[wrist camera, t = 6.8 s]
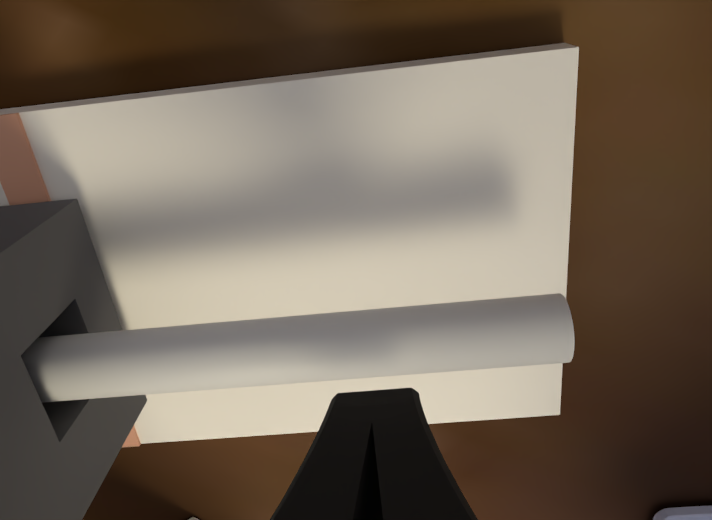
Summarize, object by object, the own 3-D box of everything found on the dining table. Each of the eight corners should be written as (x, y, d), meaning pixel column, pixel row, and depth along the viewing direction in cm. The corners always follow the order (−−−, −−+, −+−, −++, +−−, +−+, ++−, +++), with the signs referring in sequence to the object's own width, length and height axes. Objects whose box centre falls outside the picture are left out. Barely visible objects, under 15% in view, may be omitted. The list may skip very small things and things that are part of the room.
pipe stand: (564, 43, 13) (808, 114, 6) (550, 392, 17) (677, 686, 10) (-239, 137, 14) (-855, 289, 7) (-67, 436, 19) (-344, 719, 11)
